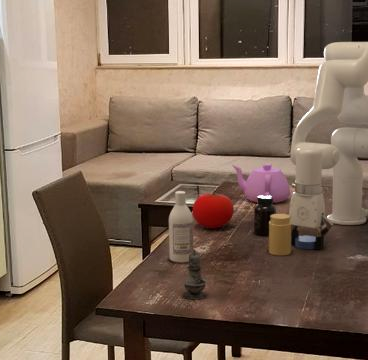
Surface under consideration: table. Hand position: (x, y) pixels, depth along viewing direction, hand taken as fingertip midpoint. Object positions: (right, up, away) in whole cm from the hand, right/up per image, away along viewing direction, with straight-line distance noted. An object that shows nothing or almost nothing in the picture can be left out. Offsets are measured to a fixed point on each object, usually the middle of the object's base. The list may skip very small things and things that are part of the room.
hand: (306, 245), depth 224 cm
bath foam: (-38, -3, -9) cm, 40 cm away
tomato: (-25, +4, +24) cm, 36 cm away
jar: (-9, -1, -5) cm, 11 cm away
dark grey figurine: (-37, -9, -38) cm, 54 cm away
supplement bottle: (-10, +2, +15) cm, 18 cm away
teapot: (-3, +12, +59) cm, 61 cm away
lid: (0, +2, 0) cm, 2 cm away
